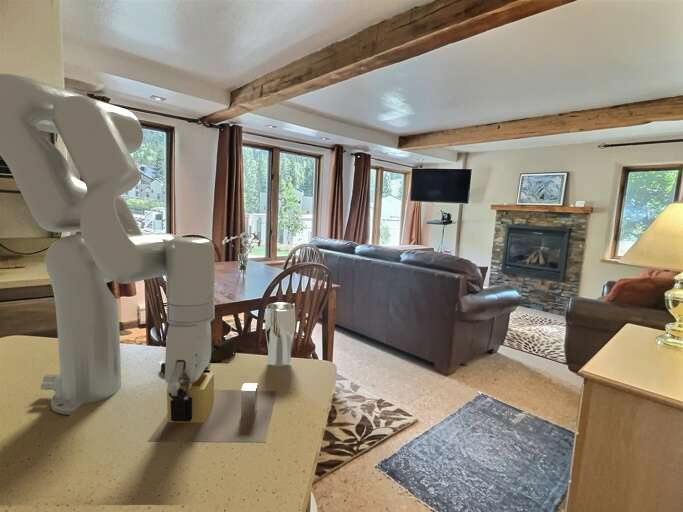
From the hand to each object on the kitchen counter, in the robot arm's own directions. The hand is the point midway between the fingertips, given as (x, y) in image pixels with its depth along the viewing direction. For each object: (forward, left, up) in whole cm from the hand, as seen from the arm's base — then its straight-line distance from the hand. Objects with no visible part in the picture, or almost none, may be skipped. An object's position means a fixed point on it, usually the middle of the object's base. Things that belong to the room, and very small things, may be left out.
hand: (192, 404), depth 65 cm
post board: (+5, 0, -3) cm, 6 cm away
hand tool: (-5, +22, -4) cm, 23 cm away
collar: (0, 0, -2) cm, 2 cm away
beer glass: (+13, +22, -3) cm, 26 cm away
